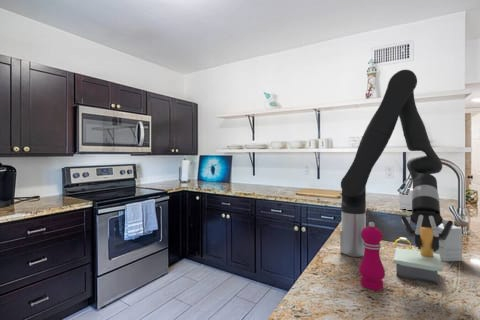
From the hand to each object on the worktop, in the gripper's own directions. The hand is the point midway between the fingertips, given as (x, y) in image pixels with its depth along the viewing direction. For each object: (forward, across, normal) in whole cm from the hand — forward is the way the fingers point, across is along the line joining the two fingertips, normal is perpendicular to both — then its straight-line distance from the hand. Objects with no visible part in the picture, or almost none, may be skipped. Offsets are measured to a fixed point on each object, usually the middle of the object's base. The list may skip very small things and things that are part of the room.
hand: (427, 249), depth 77 cm
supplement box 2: (-15, +6, +34) cm, 37 cm away
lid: (+4, -2, +2) cm, 5 cm away
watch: (-14, -8, +32) cm, 35 cm away
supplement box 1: (-81, -8, +100) cm, 129 cm away
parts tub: (0, -3, +18) cm, 18 cm away
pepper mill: (+12, -14, +6) cm, 20 cm away
